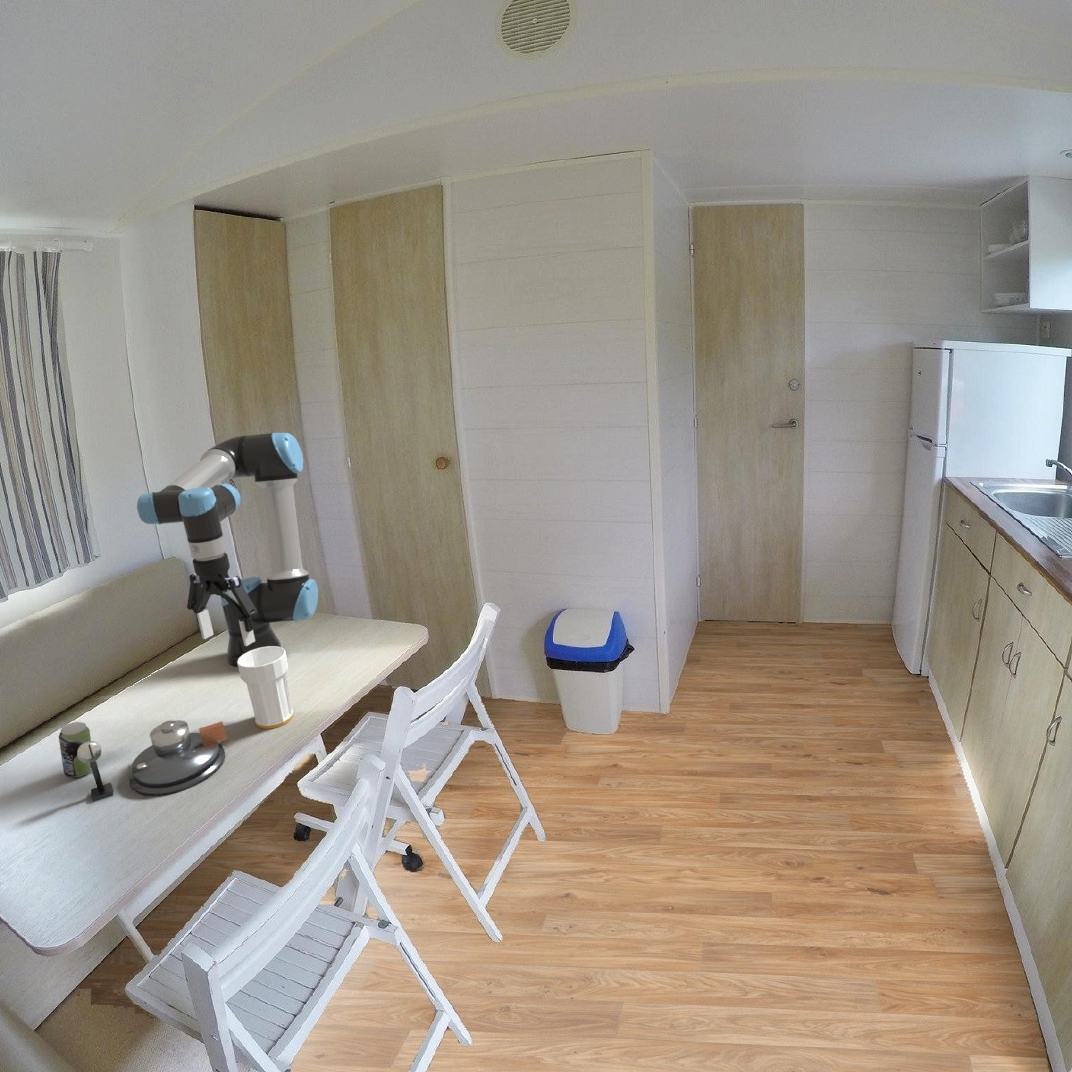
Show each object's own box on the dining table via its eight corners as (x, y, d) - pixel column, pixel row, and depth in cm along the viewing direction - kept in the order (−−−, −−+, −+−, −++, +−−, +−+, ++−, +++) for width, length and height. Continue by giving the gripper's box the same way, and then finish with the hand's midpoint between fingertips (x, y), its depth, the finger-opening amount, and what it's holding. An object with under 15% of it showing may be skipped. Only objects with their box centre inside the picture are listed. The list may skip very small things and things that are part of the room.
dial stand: (90, 793, 168) (74, 740, 164) (113, 785, 170) (97, 733, 166) (91, 802, 164) (74, 749, 160) (114, 794, 166) (98, 742, 162)
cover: (152, 743, 179) (146, 722, 177) (188, 731, 183) (183, 711, 181) (155, 759, 172) (149, 737, 171) (193, 746, 176) (188, 725, 174)
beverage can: (73, 766, 179) (59, 721, 175) (105, 762, 179) (92, 717, 176) (59, 782, 173) (45, 736, 169) (93, 778, 173) (79, 732, 170)
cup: (241, 728, 189) (226, 664, 184) (271, 704, 199) (258, 643, 193) (278, 734, 185) (264, 669, 179) (307, 710, 195) (295, 648, 189)
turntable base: (127, 763, 178) (126, 759, 178) (217, 733, 187) (216, 730, 187) (133, 807, 161) (132, 803, 161) (232, 772, 171) (231, 768, 170)
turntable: (130, 759, 177) (124, 735, 175) (221, 729, 187) (216, 706, 185) (137, 798, 162) (129, 773, 160) (235, 764, 172) (229, 739, 170)
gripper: (158, 557, 178) (178, 640, 184) (236, 565, 167) (256, 653, 173) (184, 546, 184) (203, 627, 191) (262, 554, 173) (279, 639, 180)
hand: (228, 640), depth 182 cm, fingers open, 13 cm apart
